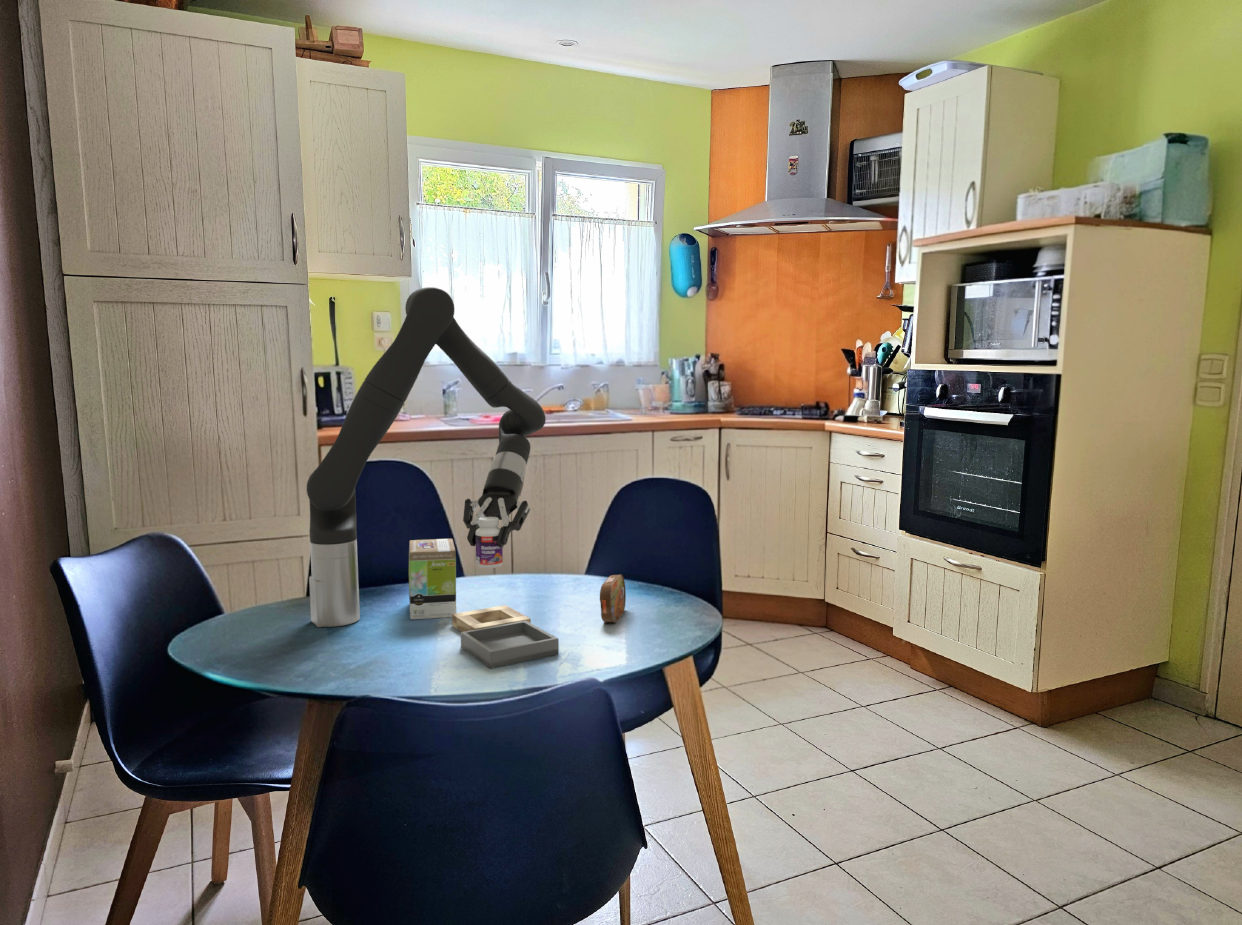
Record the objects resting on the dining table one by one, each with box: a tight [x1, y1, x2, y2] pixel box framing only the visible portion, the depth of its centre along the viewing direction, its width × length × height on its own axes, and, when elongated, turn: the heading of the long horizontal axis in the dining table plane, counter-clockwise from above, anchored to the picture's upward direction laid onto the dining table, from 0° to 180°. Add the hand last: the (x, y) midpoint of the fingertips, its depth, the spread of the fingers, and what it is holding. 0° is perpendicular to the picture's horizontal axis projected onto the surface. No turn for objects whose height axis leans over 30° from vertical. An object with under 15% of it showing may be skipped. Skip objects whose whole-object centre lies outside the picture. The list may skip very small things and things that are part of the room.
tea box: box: [408, 538, 457, 620], centre depth 181 cm, size 15×10×15 cm, turn 14°
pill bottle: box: [475, 517, 504, 569], centre depth 166 cm, size 5×5×10 cm
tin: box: [599, 574, 627, 624], centre depth 175 cm, size 15×3×8 cm, turn 168°
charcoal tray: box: [460, 621, 560, 670], centre depth 153 cm, size 14×14×3 cm
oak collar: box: [451, 604, 532, 633], centre depth 167 cm, size 12×12×2 cm
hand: (485, 544), depth 164 cm, fingers closed on pill bottle, 5 cm apart
